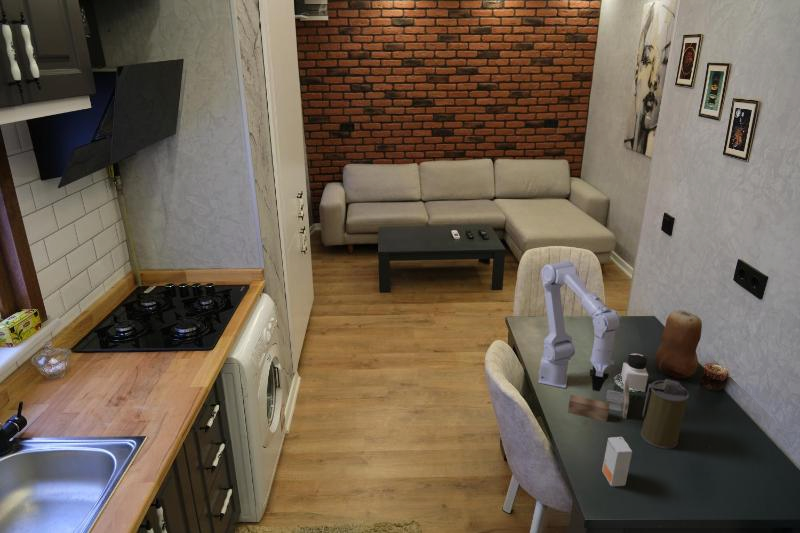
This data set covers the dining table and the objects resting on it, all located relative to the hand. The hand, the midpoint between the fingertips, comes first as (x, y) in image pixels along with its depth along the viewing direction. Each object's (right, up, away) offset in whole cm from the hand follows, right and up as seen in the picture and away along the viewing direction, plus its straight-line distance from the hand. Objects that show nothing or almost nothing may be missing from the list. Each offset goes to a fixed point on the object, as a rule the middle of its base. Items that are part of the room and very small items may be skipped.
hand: (596, 383), depth 173 cm
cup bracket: (+8, -8, +7) cm, 14 cm away
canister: (+16, -15, -8) cm, 23 cm away
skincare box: (-4, -21, -25) cm, 33 cm away
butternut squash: (+37, -2, +24) cm, 44 cm away
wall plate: (+11, -9, +6) cm, 16 cm away
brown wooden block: (-2, -11, +2) cm, 11 cm away
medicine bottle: (+19, -5, +17) cm, 26 cm away
